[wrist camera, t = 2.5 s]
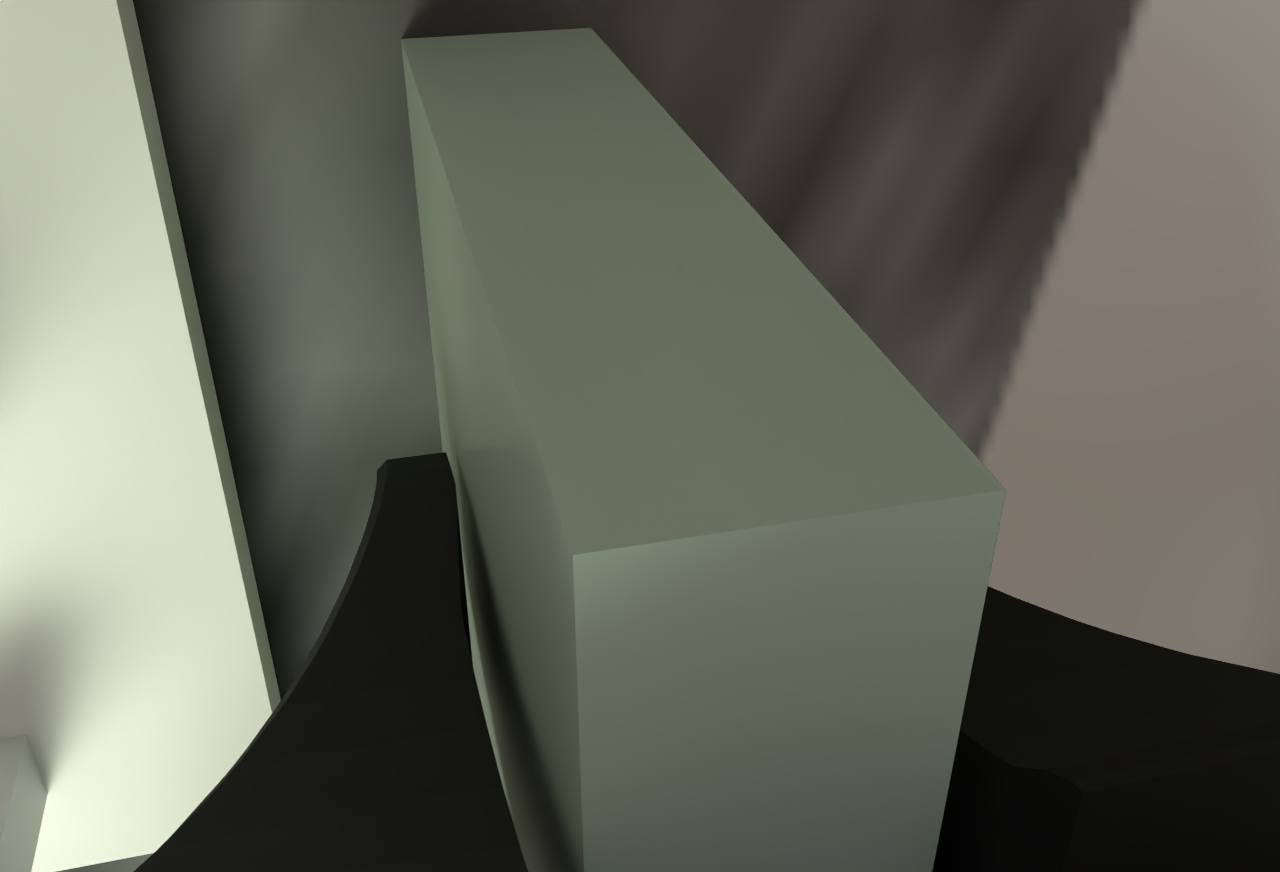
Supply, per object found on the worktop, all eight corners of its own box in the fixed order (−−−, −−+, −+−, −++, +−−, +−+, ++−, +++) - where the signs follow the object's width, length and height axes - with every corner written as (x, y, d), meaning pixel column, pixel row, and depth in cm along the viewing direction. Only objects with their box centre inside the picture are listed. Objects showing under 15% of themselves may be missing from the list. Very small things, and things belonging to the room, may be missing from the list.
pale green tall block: (591, 27, 13) (1006, 491, 5) (603, 661, 18) (836, 1370, 10) (400, 38, 12) (573, 553, 5) (466, 686, 17) (604, 1441, 10)
